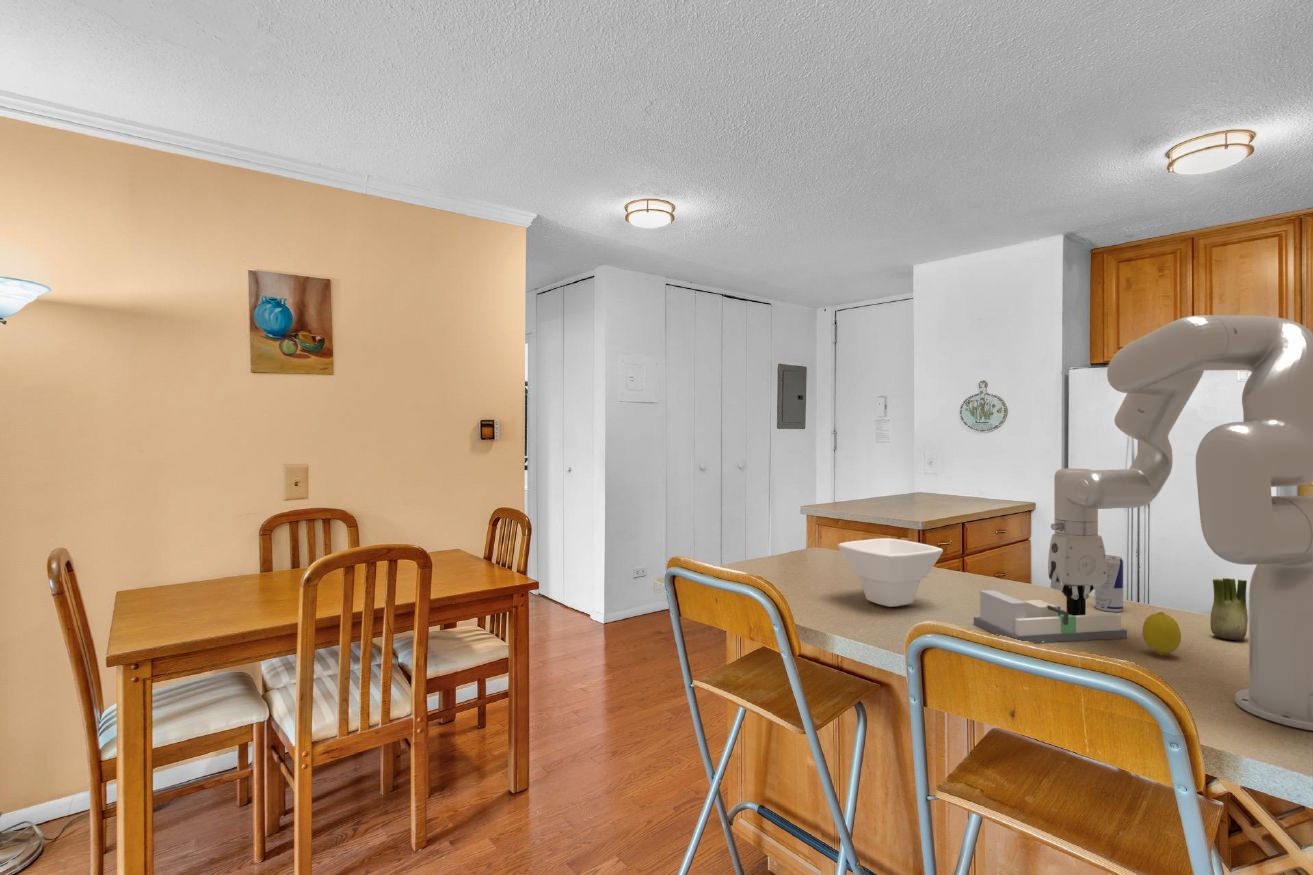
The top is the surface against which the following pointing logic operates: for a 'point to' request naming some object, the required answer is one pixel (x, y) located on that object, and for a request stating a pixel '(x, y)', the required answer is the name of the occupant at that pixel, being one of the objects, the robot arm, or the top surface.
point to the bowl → (890, 567)
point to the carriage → (1043, 610)
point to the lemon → (1161, 633)
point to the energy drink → (1111, 587)
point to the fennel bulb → (1229, 609)
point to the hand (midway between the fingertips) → (1076, 616)
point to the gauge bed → (1042, 622)
